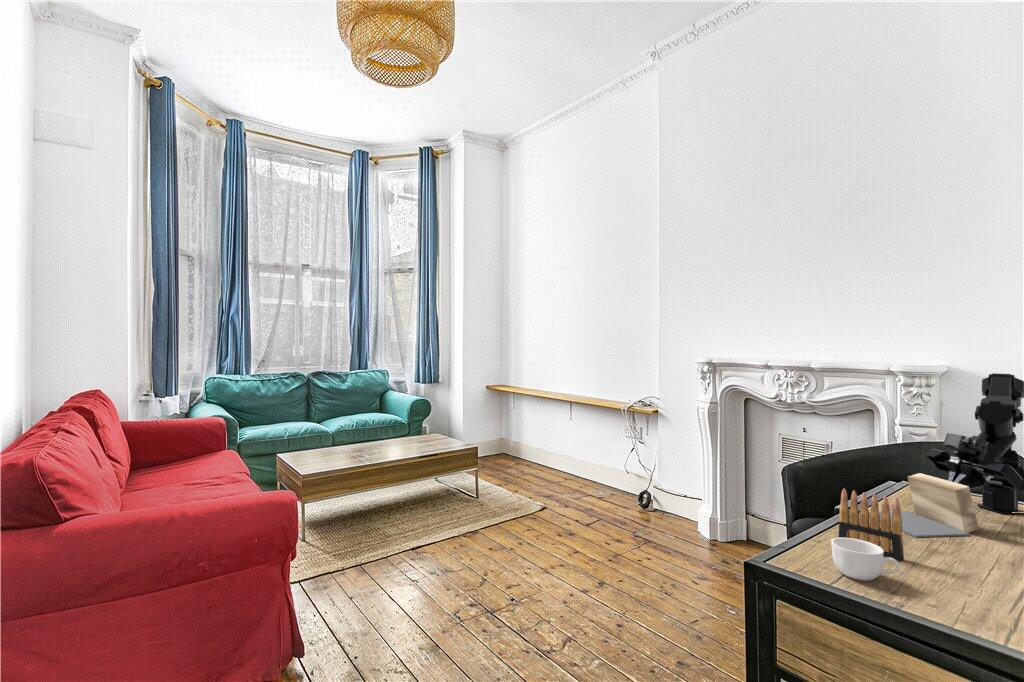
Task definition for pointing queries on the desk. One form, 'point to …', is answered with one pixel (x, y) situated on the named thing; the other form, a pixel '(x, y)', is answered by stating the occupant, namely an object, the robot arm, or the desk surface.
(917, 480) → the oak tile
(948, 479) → the robot arm
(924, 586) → the desk surface
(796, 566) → the desk surface
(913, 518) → the mat
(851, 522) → the ammunition clip
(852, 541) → the teacup
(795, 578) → the desk surface
